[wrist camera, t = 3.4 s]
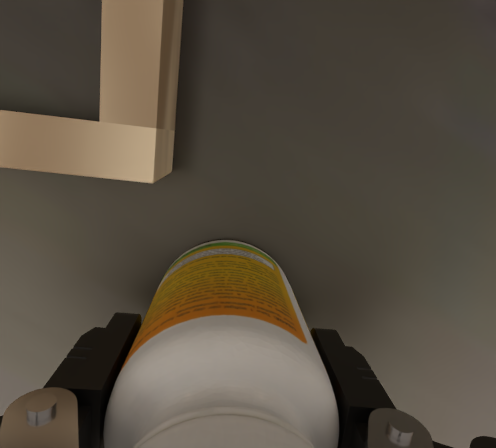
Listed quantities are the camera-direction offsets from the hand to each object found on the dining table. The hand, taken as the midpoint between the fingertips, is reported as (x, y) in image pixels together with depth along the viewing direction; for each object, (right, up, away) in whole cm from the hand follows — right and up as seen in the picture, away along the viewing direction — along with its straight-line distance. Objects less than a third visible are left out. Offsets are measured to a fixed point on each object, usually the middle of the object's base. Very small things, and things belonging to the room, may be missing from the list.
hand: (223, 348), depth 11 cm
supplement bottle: (0, +1, +4) cm, 4 cm away
